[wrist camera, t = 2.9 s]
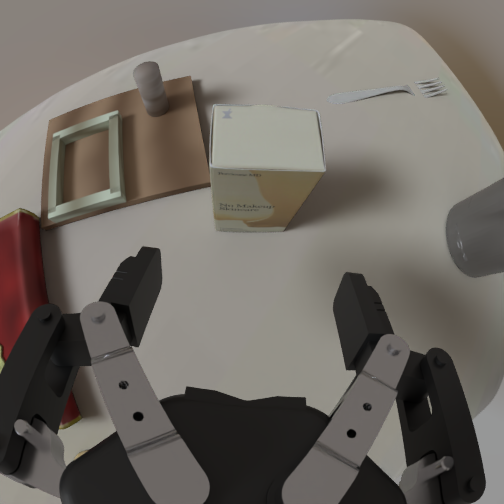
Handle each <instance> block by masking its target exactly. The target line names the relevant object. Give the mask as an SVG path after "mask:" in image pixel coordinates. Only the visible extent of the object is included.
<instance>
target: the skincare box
mask: <svg viewBox="0 0 504 504" xmlns="http://www.w3.org/2000/svg"><path fill="white" fill-rule="evenodd" d="M209 168H210V181H211V193H212V203H213V213H214V223H215V230H216V231H224V232H283V231H284V230H285V228H286V227H287V225H288V224H289V222H290V221H291V220H292V218H293V217H294V215H295V214H296V213H297V211H298V210H299V208H300V207H301V206H302V204H303V203H304V201H305V200H306V198H307V197H308V196H309V194H310V193H311V191H312V190H313V189H314V187H315V186H316V184H317V183H318V182H319V180H320V179H321V177H322V176H323V174H324V173H325V172H326V163H325V151H324V140H323V133H322V125H321V118H320V113H319V112H318V111H317V110H312V109H303V108H293V107H281V106H273V105H240V104H214V105H213V109H212V118H211V130H210V147H209Z"/></svg>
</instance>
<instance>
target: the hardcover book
mask: <svg viewBox="0 0 504 504" xmlns="http://www.w3.org/2000/svg"><path fill="white" fill-rule="evenodd" d="M44 304H49V302H48V297H47V291H46V284H45V277H44V270H43V262H42V252H41V241H40V226H39V217H38V216H37V215H35V214H34V213H32V212H30V211H28V210H25V209H21V208H19V209H17V210H15V211H13V212H11V213H9V214H7V215H5V216H4V217H2V218H0V373H1V370H2V368H3V366H4V364H5V362H6V360H7V358H8V356H9V354H10V352H11V350H12V348H13V346H14V344H15V343H16V341H17V339H18V337H19V335H20V333H21V332H22V330H23V328H24V326H25V325H26V323H27V321H28V319H29V318H30V316H31V314H32V313H33V311H34V310H35V309H36V308H38V307H39V306H41V305H44ZM80 419H81V415H80V412H79V410H78V407H77V405H76V402H75V399H74V396H73V393H72V391H71V392H70V395H69V398H68V401H67V404H66V407H65V410H64V413H63V416H62V420H61V423H60V426H59V429H65V428H68V427H70V426H72V425H73V424H75V423H77V422H78V421H79V420H80Z"/></svg>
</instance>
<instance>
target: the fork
mask: <svg viewBox="0 0 504 504" xmlns="http://www.w3.org/2000/svg"><path fill="white" fill-rule="evenodd" d="M438 79H439V78H435V79H429V80H424V81H416V82H414V83H415V84H420V83H425V82H430V81H434V80H438ZM439 83H442V82H437V83H431V84H427V85H421V86H419V85H417V87H418V88H419V89H421V88H425V87H429V86H433V85H436V84H439ZM442 87H444V85H443V86H438V87H435V88H431V89H427V90H420V91H421V93H422V94H424V93H426V92H430V91H433V90H436V89H439V88H442ZM397 90H404V91H407V92H409V93H410V94H412V95H414V96H415V94H414V93H413V92H412V90H411V89H410V88H409V86H408V85H405V86H394V87H387V88H379V89H370V90H360V91H352V92H344V93H337V94H333V95H331V96H329V97H328V98H327V102H330V103H333V104H344V103H348V102H353V101H358V100H362V99H366V98H369V97H372V96H376V95H379V94H383V93H387V92H391V91H397ZM446 90H447V89H444V90H441V91H437V92H434V93H431V94H428V95H424V97H431V96H434V95H436V94H439V93H442V92H444V91H446Z"/></svg>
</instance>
